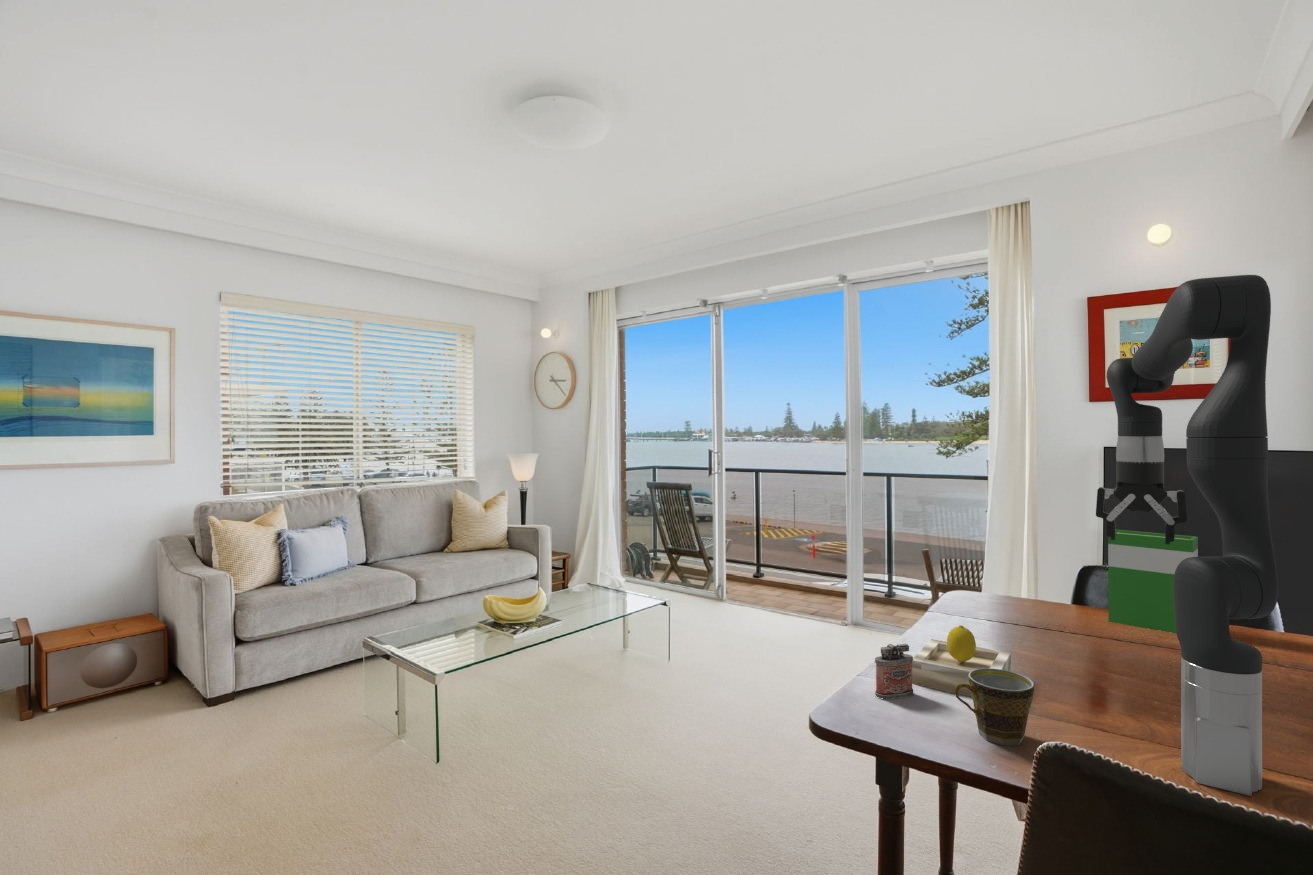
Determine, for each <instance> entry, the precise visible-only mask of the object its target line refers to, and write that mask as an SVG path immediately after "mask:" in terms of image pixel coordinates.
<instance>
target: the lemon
mask: <svg viewBox="0 0 1313 875" xmlns="http://www.w3.org/2000/svg"><path fill="white" fill-rule="evenodd" d="M946 642H947V649H948V652H949V653H950V655H951V656H952V657H953V658H954V659H956V660H958V661H959V663H964V662H965V661H968V660H970V659H971V658H972V657H973V656H974V654H975V650H976V647H977V646H976V643H977V642H976V639H975V636H974V634H973V632H971V630H970V629H968V628H967V627H964V626H963V625H962V624H960V625H958V626H955V627H953V628H952V629H950V631H949V632H948V635H947V638H946Z"/></svg>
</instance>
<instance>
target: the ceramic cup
mask: <svg viewBox="0 0 1313 875" xmlns="http://www.w3.org/2000/svg"><path fill="white" fill-rule="evenodd" d="M968 677H969V684H970V685H968V684H966V683H960V684H958V685H957V686H956V688H955V693H954V696H955V697H956V699H957V700H958V701H960V703H963V705H965V706H966V707H967V708H968V709H969V710H970V711H972V712H973V714H975V718H976V723H977V724H976V725H977V730H978V731H977V732H978V734H979V735H980V736H981V737H982V738H983V739H984V740H985V739H986V740H985V741H987V742H989V741H990V742H991V743H993V742H994V743H993V744H996V743H998V744H997V745H999V746H1003V745H1004V746H1005V745H1007V747H1008V745H1010V746H1019V745H1021V744H1022V742H1023V741H1024V738H1025V734H1026V730H1027V729H1026V728H1027V724H1028V718H1029V713H1030V709H1031V706H1032V702H1033V698H1034V691H1035V682H1034V681H1033V680H1031V678H1029V677H1027V676H1025V675H1023V674H1021V673H1017V672H1014V671H1012V670H1011V671H1007V670H1001V669H989V668H986V669H976V670H973V671H971V672H970V673H969V675H968ZM960 688H968V689H969V690H970V692H971V694H972V697H971V698H972V699H971V700H972V703H973V707H974V708H973V707H972V706H970V704H969V703H968V702H966V701H965V700H963V699H962V698H961V696H960V697H959V694H958V690H959V689H960ZM1005 747H1006V746H1005Z"/></svg>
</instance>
